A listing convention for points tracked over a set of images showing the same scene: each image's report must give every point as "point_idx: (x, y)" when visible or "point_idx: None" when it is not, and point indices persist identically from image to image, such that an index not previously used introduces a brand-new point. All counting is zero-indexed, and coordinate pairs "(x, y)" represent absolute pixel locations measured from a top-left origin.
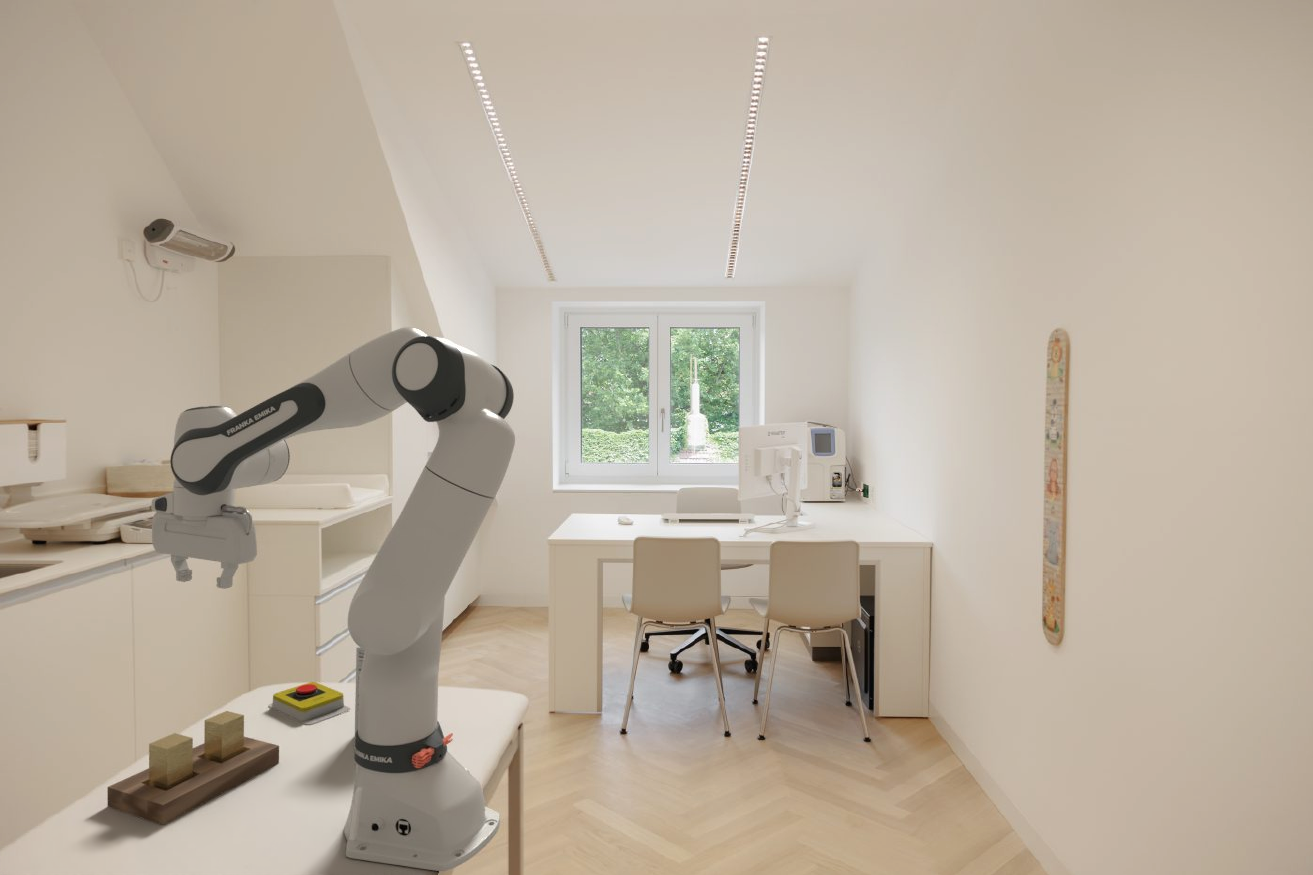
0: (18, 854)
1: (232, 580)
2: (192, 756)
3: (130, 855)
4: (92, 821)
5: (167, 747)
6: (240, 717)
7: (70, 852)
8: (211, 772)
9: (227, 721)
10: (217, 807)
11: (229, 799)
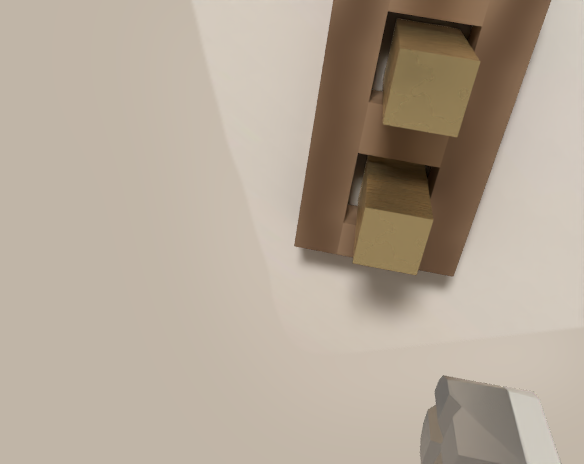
0: (295, 341)
1: (549, 433)
2: (429, 197)
3: (461, 323)
4: (317, 264)
5: (410, 269)
6: (476, 74)
7: (363, 329)
8: (461, 157)
9: (458, 115)
10: (512, 189)
11: (519, 159)
